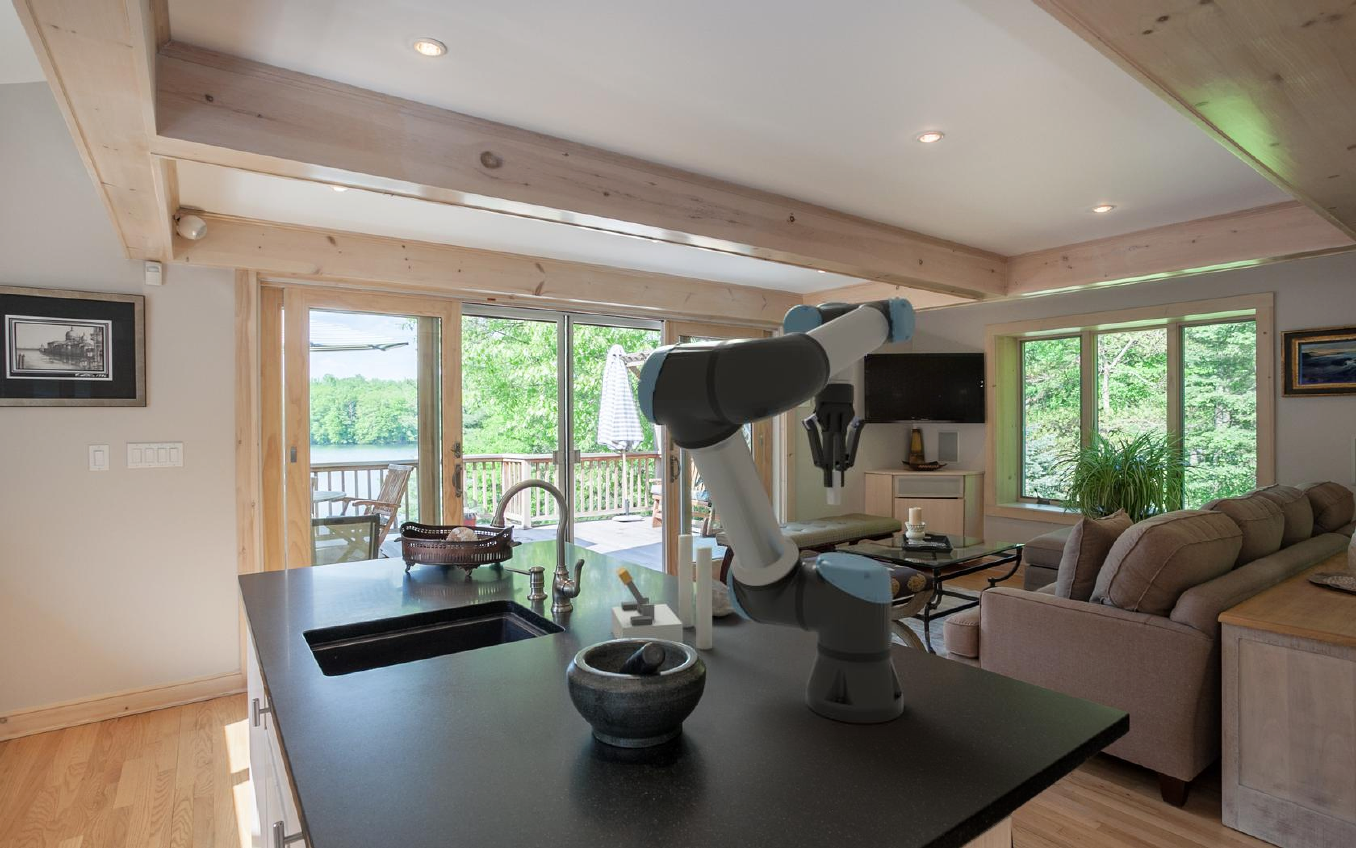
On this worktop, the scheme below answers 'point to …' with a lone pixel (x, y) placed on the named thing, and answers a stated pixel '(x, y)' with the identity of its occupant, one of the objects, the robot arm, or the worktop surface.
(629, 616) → the panel
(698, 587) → the post near
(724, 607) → the seashell
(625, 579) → the breaker lever
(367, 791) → the worktop surface
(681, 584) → the post far
